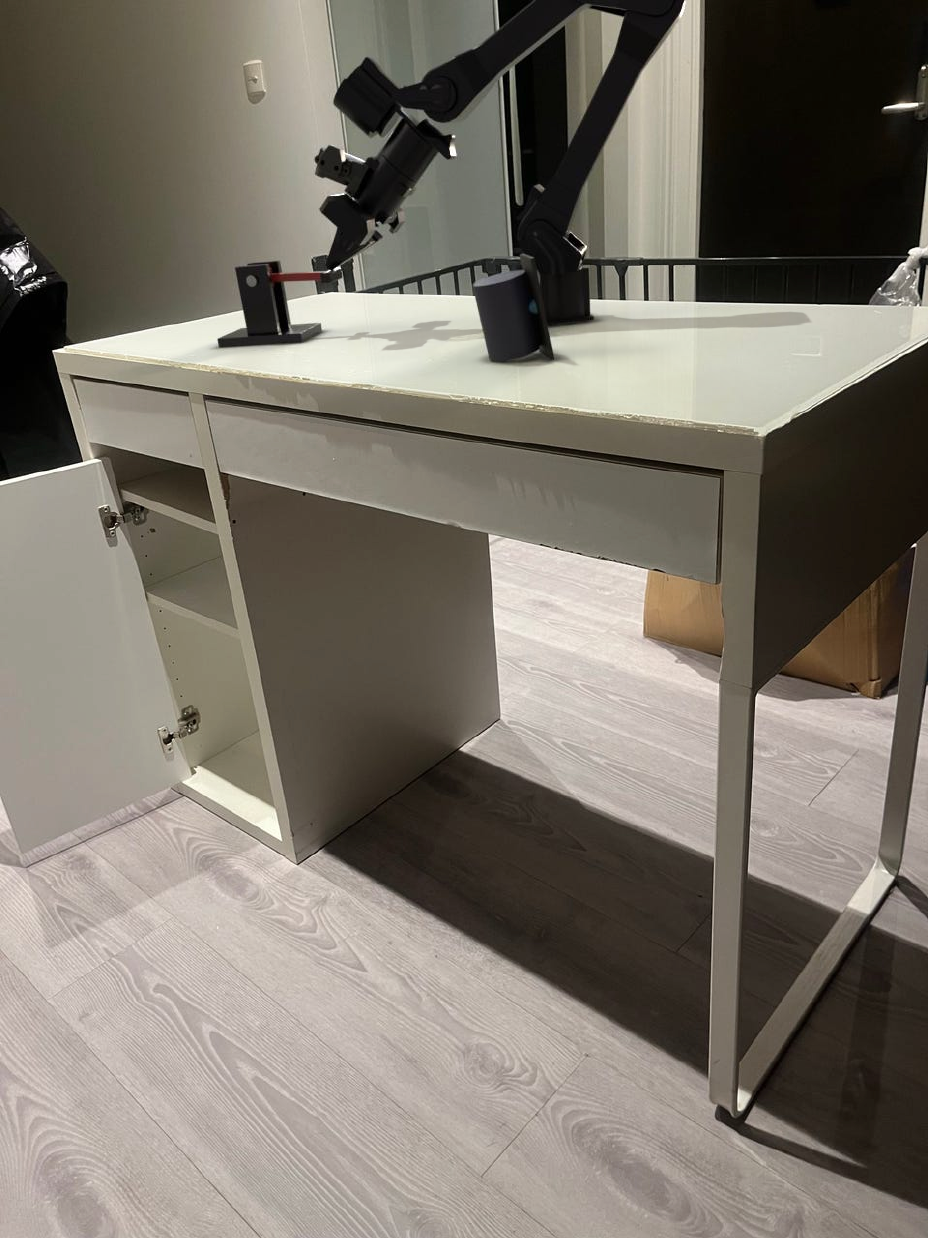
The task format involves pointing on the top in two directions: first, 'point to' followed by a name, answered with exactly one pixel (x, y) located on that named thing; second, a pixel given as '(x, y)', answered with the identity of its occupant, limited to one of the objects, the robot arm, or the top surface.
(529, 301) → the speaker
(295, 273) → the paintbrush
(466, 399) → the top surface
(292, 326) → the lever switch
